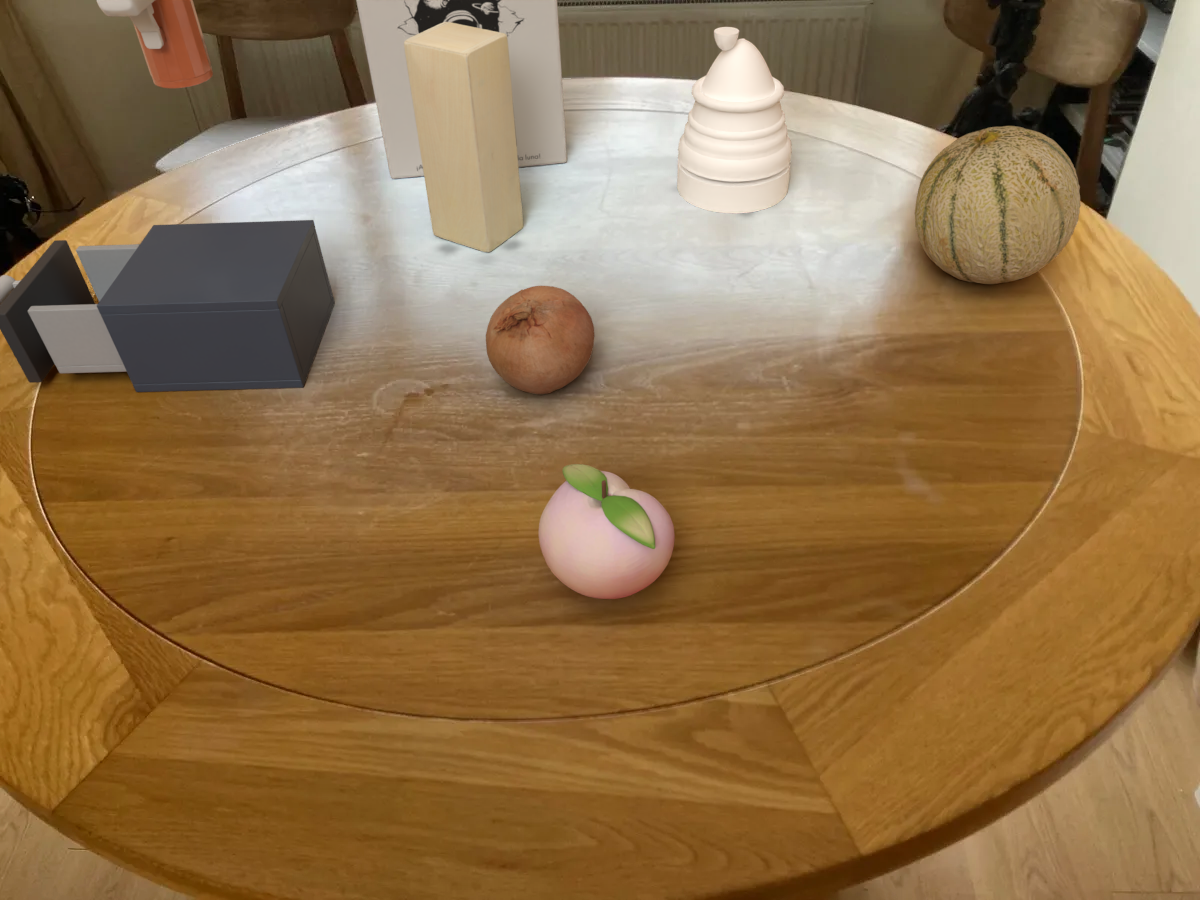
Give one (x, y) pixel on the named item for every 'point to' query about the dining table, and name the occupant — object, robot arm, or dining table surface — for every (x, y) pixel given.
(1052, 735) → the dining table surface
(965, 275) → the cantaloupe
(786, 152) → the honey pot
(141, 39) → the cup
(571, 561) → the decorative fruit
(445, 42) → the tall wooden block
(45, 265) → the drawer
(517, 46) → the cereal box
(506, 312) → the onion
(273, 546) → the dining table surface
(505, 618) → the dining table surface
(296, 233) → the cabinet
